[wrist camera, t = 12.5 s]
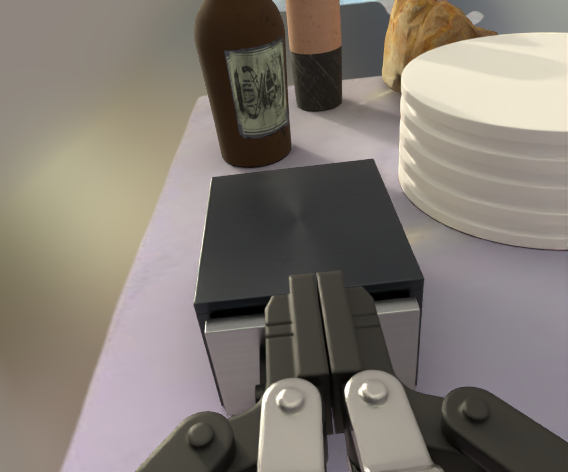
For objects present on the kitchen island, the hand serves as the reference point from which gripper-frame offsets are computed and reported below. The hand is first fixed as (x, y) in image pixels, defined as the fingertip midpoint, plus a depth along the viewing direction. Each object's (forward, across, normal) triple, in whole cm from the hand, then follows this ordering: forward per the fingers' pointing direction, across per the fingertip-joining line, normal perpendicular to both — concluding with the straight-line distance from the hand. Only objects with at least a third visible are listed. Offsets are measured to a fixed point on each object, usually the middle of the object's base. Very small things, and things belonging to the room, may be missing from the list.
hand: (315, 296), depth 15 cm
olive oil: (+52, +4, +21) cm, 56 cm away
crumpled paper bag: (+65, -25, +20) cm, 73 cm away
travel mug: (+67, -6, +21) cm, 71 cm away
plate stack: (+38, -26, +20) cm, 51 cm away
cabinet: (+20, 0, +20) cm, 28 cm away
